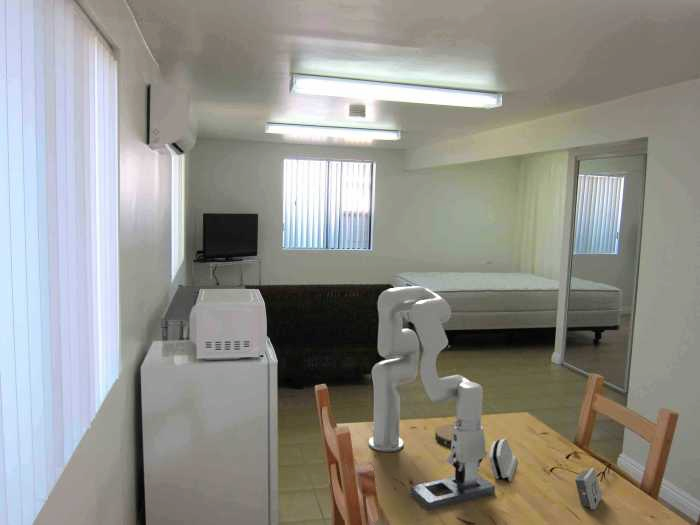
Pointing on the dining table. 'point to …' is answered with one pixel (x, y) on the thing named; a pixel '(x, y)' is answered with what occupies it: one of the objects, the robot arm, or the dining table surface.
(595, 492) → the electrical switch
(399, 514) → the dining table surface
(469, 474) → the steel block
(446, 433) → the wood slice
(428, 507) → the grey tray with holes
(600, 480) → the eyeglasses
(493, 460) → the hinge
